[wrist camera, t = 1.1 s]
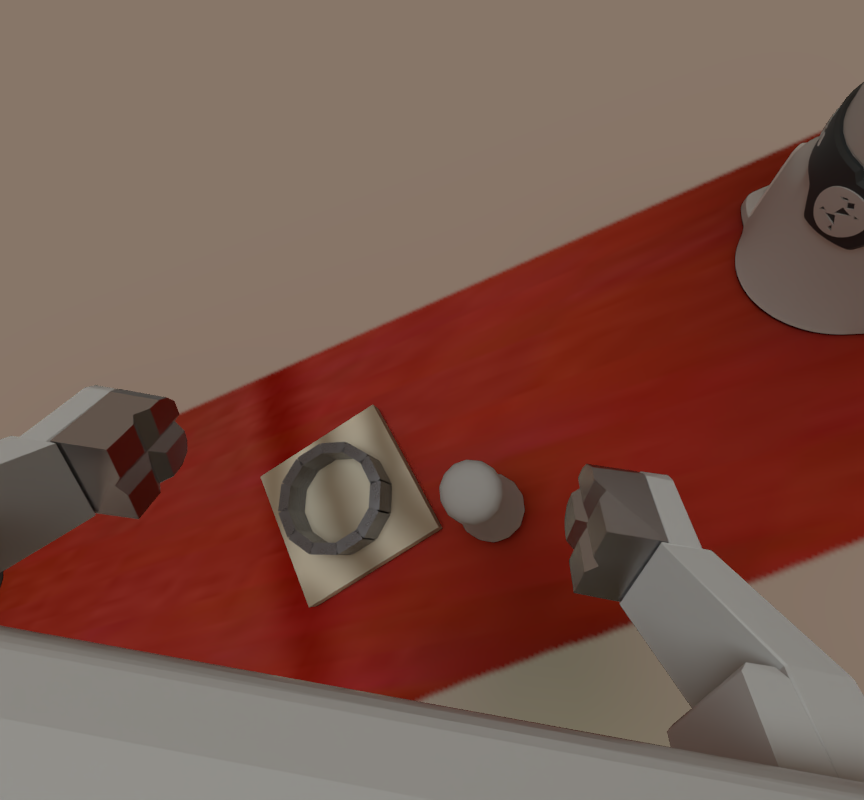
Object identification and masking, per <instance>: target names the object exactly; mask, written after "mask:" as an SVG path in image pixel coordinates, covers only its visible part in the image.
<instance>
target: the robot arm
mask: <svg viewBox="0 0 864 800" xmlns="http://www.w3.org/2000/svg"><path fill="white" fill-rule="evenodd" d="M741 216H742V221H743V226H744V227H743V232H742V235H741V238H740V240H739V243H738V246H737V249H736V255H735V266H736V272H737V276H738V279H739V281H740V283H741V285H742V287H743V289H744V290H745V292H746V293H747V295H748V296H749V297H750V298H751V299H752V300H753V302H754V303H756V304H757V305H758V306H759V307H760V308H761V309H762V310H764V311H765V312H767V313H768V314H770V315H771V316H773V317H774V318H776V319H778V320H780V321H782V322H784V323H786V324H789V325H791V326H794V327H797V328H800V329H804V330H808V331H812V332H818V333H825V334H864V82H863V83H862V84H861V85H859V86H858V87H857V88H856V89H855V90H853V91H852V93H851V94H850V95H849V96H848V97H847V98H846V99H845V101H844V102H843V104H842V105H841V106H840V107H839V108H838V109H837V110H836V112H835V113H834V114H833V115H832V117H831V118H830V119H829V121H828V123H827V124H826V126H825V127H824V129H823V131H822V132H821V135H820V136H819V137H816V138H814V139H812V140H811V141H809V142H807V143H801V144H800V145H799V146H797V147H796V148H795V149H794V151H793V152H792V153H791V155H790V156H789V158H788V159H787V160H786V162H785V163H784V165H783V166H782V168H781V169H780V171H779V172H778V174H777V175H776V176H775V178H774V179H773V181H772V182H771V184H770V185H768V186H766V187H764V188H761V189H759V190H757V191H754V192H752V193H751V194H749V195H748V196H747V198H746V199H745V200H744V202H743V203H742V206H741ZM178 416H179V412H178V409H177V407H176V404H175V402H174V401H173V400H171V399H169V398H166V397H161V396H155V395H150V394H144V393H138V392H133V391H128V390H122V389H113V388H108V387H103V386H98V385H95V386H90V387H85V388H84V389H83V390H81V391H80V392H79V393H77V394H76V395H75V396H73V397H72V398H71V399H69V400H68V401H67V402H65V403H64V404H63V405H61V406H60V407H59V408H57V409H56V410H55V411H53V412H52V413H51V414H49V415H48V416H47V417H45V418H44V419H43V420H41V421H40V422H39V423H38V424H36V425H35V426H33V427H32V428H31V429H29V430H28V431H27V432H26V433H24V434H23V435H21V436H20V437H15V436H9V437H6V438H3V439H0V573H1V572H2V571H4V570H6V569H7V568H9V567H11V566H12V565H14V564H16V563H17V562H19V561H20V560H22V559H24V558H25V557H27V556H29V555H30V554H32V553H34V552H35V551H37V550H39V549H40V548H42V547H44V546H45V545H47V544H49V543H50V542H52V541H54V540H55V539H57V538H59V537H60V536H62V535H64V534H65V533H67V532H69V531H70V530H72V529H74V528H75V527H77V526H79V525H80V524H82V523H84V522H85V521H87V520H89V519H90V518H92V517H94V516H95V515H96V514H95V513H99V514H106V515H114V516H121V517H128V518H135V519H139V518H140V517H141V516H142V515H143V514H144V512H145V511H146V510H147V509H148V507H149V506H150V505H151V504H152V502H153V501H154V500H155V499H156V498H157V496H158V495H159V494H160V493H161V492H160V483H161V482H163V481H165V480H167V479H169V478H171V477H173V476H174V475H175V474H176V473H177V471H178V470H179V469H180V467H181V466H182V465H183V462H184V459H185V456H186V454H187V438H186V434H185V431H184V430H183V429H182V428H181V427H180V426H179V425H178V424H177V423H176V422H175V420H176V419H177V417H178ZM578 480H579V485H580V489H578V490H576V491H575V492H573V493H571V496H570V499H569V501H568V504H567V508H566V514H565V535H566V541H567V542H568V543H569V544H570V545H571V547H572V548H573V549H574V551H573V553H572V555H571V558H570V560H569V564H570V570H571V577H572V584H573V590H574V593H578V594H583V595H588V596H593V597H598V598H603V599H608V600H613V601H619V602H620V605H621V607H622V608H623V610H624V611H625V613H626V614H627V616H628V617H629V618H630V620H631V621H632V623H633V624H634V626H635V627H636V628H637V630H638V631H639V633H640V634H641V636H642V637H643V639H644V640H645V641H646V643H647V644H648V646H649V647H650V649H651V650H652V651H653V653H654V654H655V656H656V657H657V659H658V660H659V662H660V663H661V664H662V666H663V667H664V669H665V670H666V672H667V673H668V674H669V676H670V677H671V679H672V680H673V682H674V683H675V684H676V686H677V687H678V689H679V690H680V692H681V693H682V694H683V696H684V697H685V699H686V700H687V702H688V703H689V705H690V706H691V707H692V709H691V710H689V711H688V712H687V713H686V714H685V715H683V716H682V717H681V718H680V719H679V720H678V721H676V722H675V723H674V724H673V725H672V726H671V727H670V728H669V730H668V731H667V733H668V737H669V741H670V745H671V747H666V746H660V745H655V744H649V743H643V742H638V741H632V740H627V739H622V738H616V737H611V736H605V735H600V734H594V733H589V732H583V731H578V730H572V729H567V728H561V727H555V726H550V725H544V724H539V723H534V722H528V721H523V720H517V719H512V718H506V717H500V716H495V715H489V714H484V713H479V712H472V711H468V710H462V709H456V708H451V707H446V706H440V705H435V704H429V703H424V702H418V701H413V700H407V699H402V698H396V697H391V696H385V695H380V694H374V693H369V692H363V691H358V690H352V689H347V688H341V687H336V686H330V685H325V684H319V683H314V682H308V681H303V680H297V679H292V678H286V677H281V676H275V675H270V674H264V673H259V672H253V671H248V670H242V669H237V668H231V667H226V666H220V665H215V664H209V663H204V662H198V661H193V660H187V659H182V658H176V657H170V656H165V655H159V654H154V653H148V652H143V651H137V650H132V649H126V648H121V647H115V646H110V645H104V644H99V643H93V642H88V641H82V640H77V639H71V638H66V637H60V636H55V635H49V634H44V633H38V632H33V631H27V630H21V629H16V628H10V627H5V626H0V800H864V696H863V694H862V692H861V690H860V689H859V687H858V685H857V683H856V682H855V680H854V679H853V678H852V677H851V676H850V675H849V674H848V673H847V672H846V671H845V670H843V669H842V668H841V667H840V666H839V665H838V664H836V662H835V661H833V660H832V659H831V658H830V657H829V656H828V655H827V654H826V653H825V652H823V651H822V650H821V649H820V648H819V647H818V646H817V645H816V644H815V643H813V642H812V641H811V640H810V639H809V638H808V637H807V636H806V635H804V634H803V633H802V632H801V631H800V630H799V629H798V628H797V627H796V626H795V625H793V624H792V623H791V622H790V621H789V620H788V619H787V618H786V617H785V616H783V615H782V614H781V613H780V612H779V611H778V610H777V609H776V608H774V607H773V606H772V605H771V604H770V603H769V602H768V601H767V600H766V599H765V598H763V597H762V596H761V595H760V594H759V593H758V592H757V591H756V590H755V589H753V588H752V587H751V586H750V585H749V584H748V583H747V582H746V581H745V580H743V579H742V578H741V577H740V576H739V575H738V574H737V573H736V572H735V571H733V570H732V569H731V568H730V567H729V566H728V565H727V564H726V563H725V562H723V561H722V560H721V559H720V558H719V557H718V556H717V555H716V554H715V553H713V552H712V551H711V550H706V549H702V547H701V544H700V542H699V540H698V537H697V535H696V533H695V530H694V528H693V526H692V524H691V521H690V519H689V517H688V514H687V512H686V510H685V507H684V505H683V503H682V500H681V498H680V496H679V494H678V491H677V489H676V487H675V484H674V482H673V480H672V479H671V478H670V477H669V476H668V475H662V474H655V473H648V472H637V471H632V470H625V469H618V468H612V467H605V466H598V465H592V464H586V465H585V466H584V467H583V468H582V470H581V473H580V475H579V477H578Z"/></svg>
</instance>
